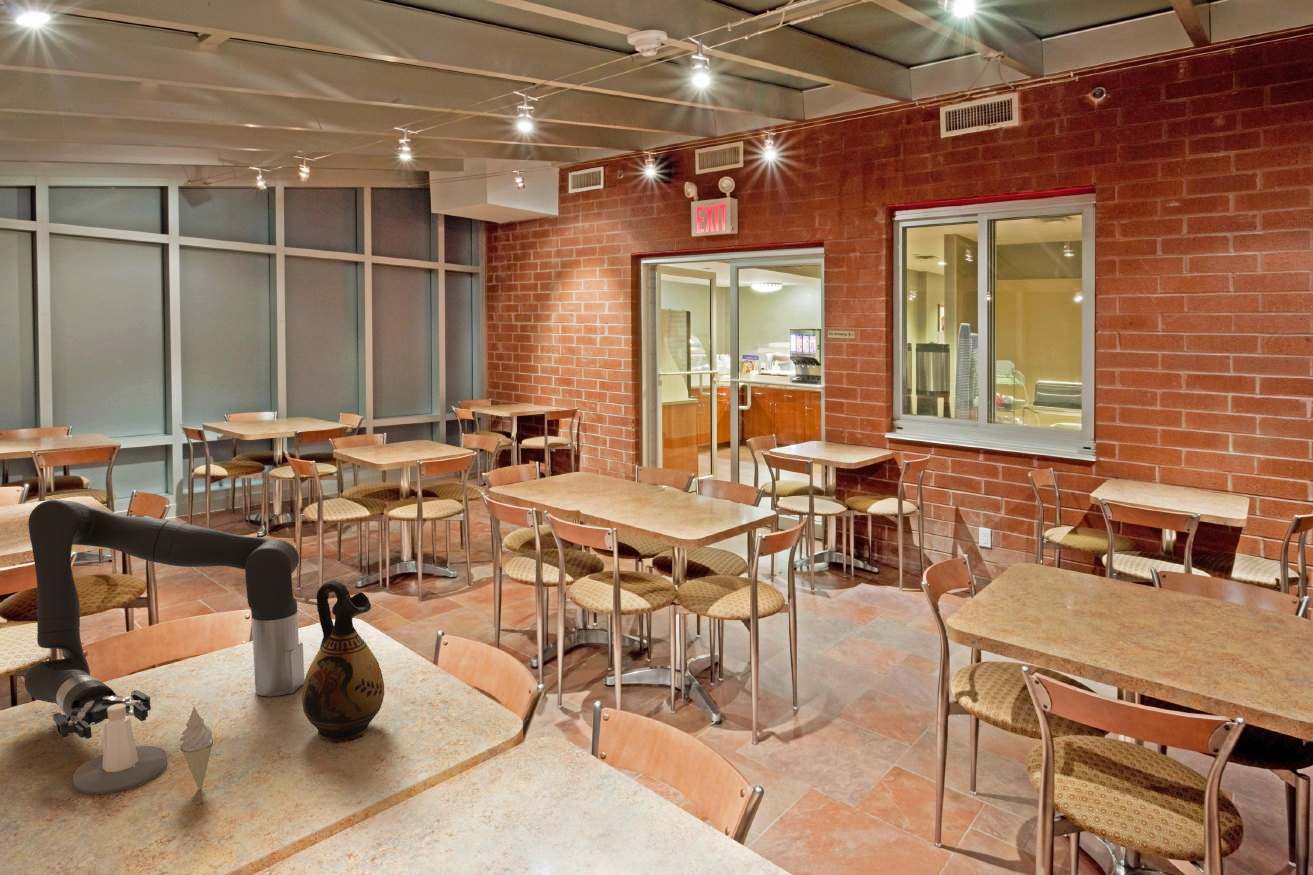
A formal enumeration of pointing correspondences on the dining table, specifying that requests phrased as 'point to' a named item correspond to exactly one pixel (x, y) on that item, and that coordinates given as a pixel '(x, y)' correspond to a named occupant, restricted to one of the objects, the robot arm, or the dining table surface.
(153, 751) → the grey round coaster
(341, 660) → the ceramic jug
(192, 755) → the ice cream cone
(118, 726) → the pepper shaker
